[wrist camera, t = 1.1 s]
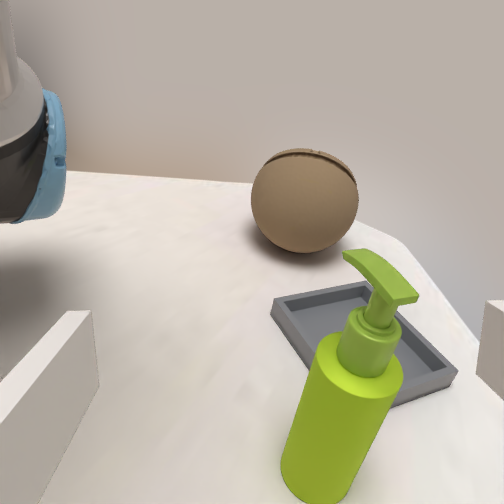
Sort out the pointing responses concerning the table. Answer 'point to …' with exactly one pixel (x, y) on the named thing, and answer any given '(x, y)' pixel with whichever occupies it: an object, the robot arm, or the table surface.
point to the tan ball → (304, 200)
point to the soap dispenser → (348, 389)
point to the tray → (334, 319)
